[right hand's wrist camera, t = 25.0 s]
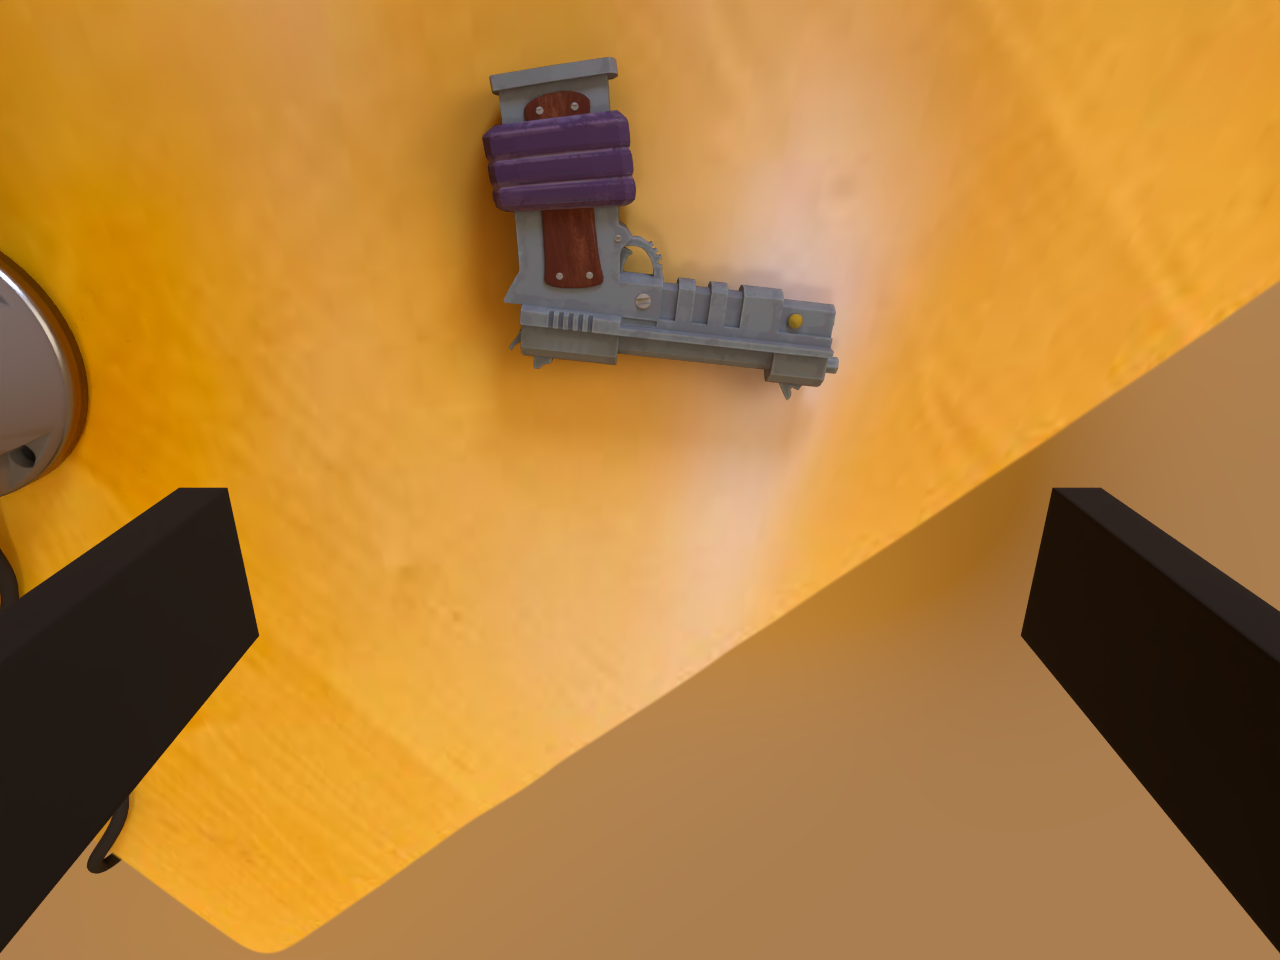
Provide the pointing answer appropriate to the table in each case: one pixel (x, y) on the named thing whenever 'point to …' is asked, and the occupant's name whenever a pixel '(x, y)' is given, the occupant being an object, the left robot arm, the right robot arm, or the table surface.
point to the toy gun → (619, 246)
